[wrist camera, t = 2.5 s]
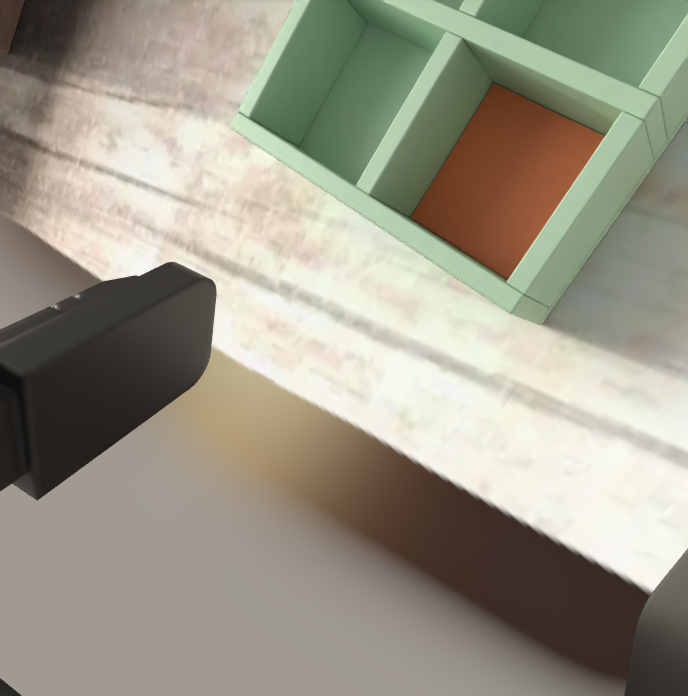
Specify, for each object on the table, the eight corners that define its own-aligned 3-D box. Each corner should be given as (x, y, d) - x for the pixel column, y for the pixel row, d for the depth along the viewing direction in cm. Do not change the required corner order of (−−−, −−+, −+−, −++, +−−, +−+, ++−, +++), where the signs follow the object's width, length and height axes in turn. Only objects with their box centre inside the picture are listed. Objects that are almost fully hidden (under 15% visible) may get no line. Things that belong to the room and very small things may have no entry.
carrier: (456, -148, 29) (415, -233, 25) (802, -44, 22) (823, -139, 18) (287, 159, 33) (228, 127, 29) (541, 326, 26) (511, 314, 22)
